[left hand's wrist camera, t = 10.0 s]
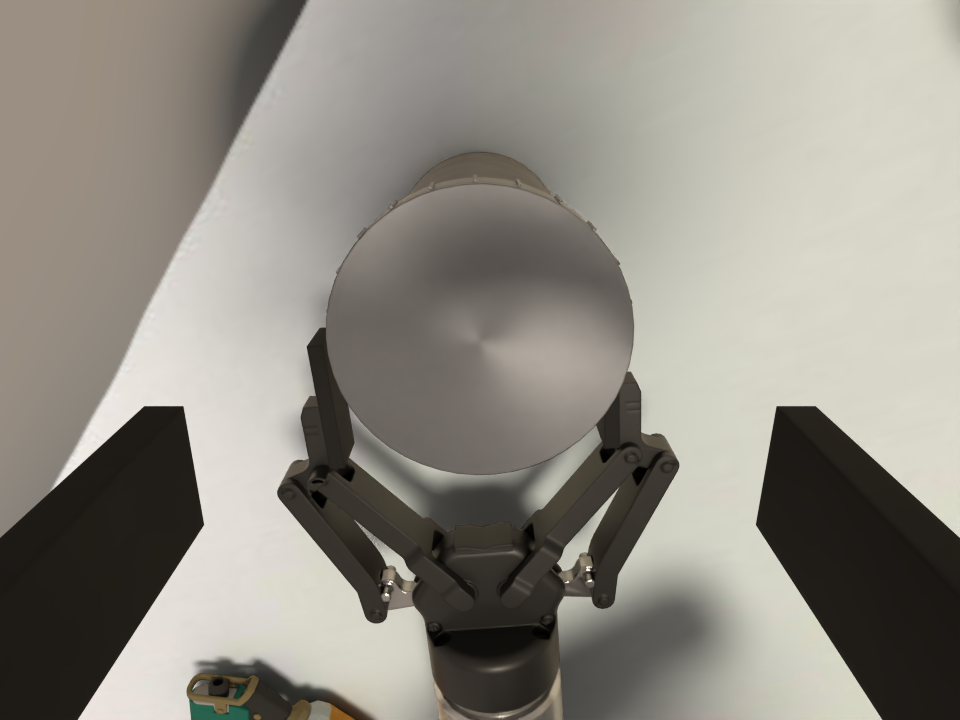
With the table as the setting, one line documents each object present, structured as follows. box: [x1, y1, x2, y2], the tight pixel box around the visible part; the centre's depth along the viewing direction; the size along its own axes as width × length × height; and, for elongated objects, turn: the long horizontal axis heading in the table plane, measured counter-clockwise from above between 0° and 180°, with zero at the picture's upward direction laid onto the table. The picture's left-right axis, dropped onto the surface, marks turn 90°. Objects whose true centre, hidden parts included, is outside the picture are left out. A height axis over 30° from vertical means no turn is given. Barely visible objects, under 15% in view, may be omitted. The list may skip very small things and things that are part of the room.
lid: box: [326, 175, 634, 475], centre depth 21 cm, size 10×10×2 cm
